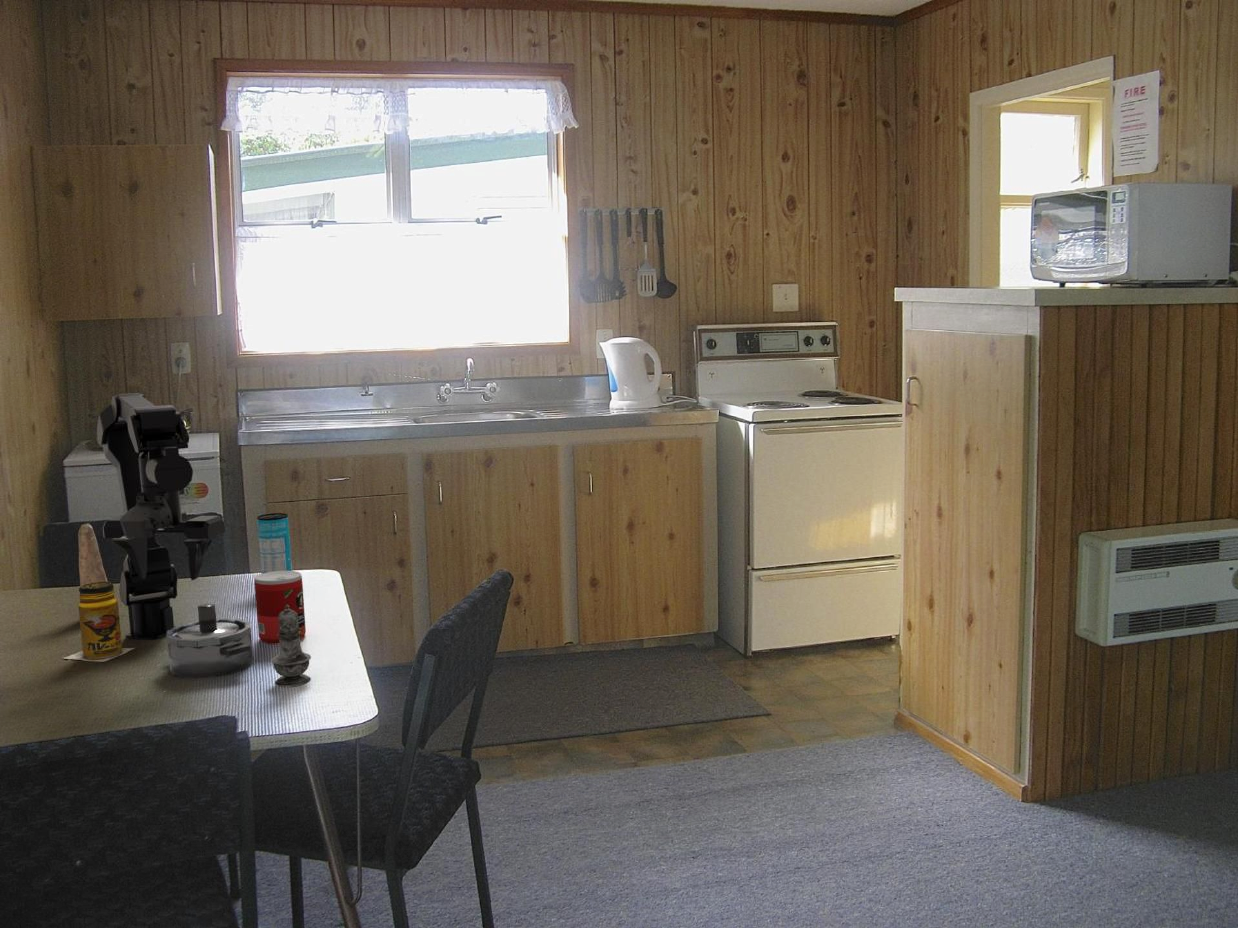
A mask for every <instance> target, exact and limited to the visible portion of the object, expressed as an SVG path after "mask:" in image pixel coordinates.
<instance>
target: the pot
mask: <svg viewBox="0 0 1238 928" xmlns="http://www.w3.org/2000/svg"><path fill="white" fill-rule="evenodd" d="M216 622H217V623H221V622H222V623H233V624H236V625H238V626H239V631H238V632H236V633H232V634H228V635H224V636H220V637H213V638H204V639H181V638H178V633H179V632H180V631H181V630H183V629H185V628H188V627H192V626H196V625H199V620H196V621H192V622H187V623H184V624H178V625H177V627H174V628H172V629H170V630H168V631H167V635H165V637H166V643H167V651H168V653H167V654H168V662H169V663H168V665H169V671H170V672H169V673H170V674H171V675H173V676H174V677H179V678H184V679H185V678H186V679H204V678H214V677H215V678H216V677H220V676H225V675H226V674H227V675H230V674H233V673H237V672H240V671H243V670H245V669H247V668H249V667H251V665H252V664H254V655H253V643H252V640H253V639H252V630H251V629H252V628H251V622H250V621H248V620H244V619H240V618H222V617H220V618H216Z"/></svg>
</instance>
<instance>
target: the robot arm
mask: <svg viewBox="0 0 1238 928" xmlns="http://www.w3.org/2000/svg"><path fill="white" fill-rule="evenodd" d="M96 425H97V426H96V435H97V440H98V441H97V442H98V443H99V445H100V446H102V449H103V454H104V457H105V458H106V459H107V460H108V461H109V462H110V464H112V466H114V467H115V469H116V474H117V479H118V485H119V492H120V496H121V501H122V503H121V504H122V508H123V515H119V516H117V517H113V518H110V519H106V520H105V522H104V524H103V527H102V532H103V533H102V535H103V538H104V539H110V541H111V543H113V544H117V545H118V546H119V547H121V548H123V550H124V551H125V553H126V557H125V559H124V561H123V565H122V567H123V571H121V574H120V575H121V576H120V581H119V586H118V587H119V589H118V591H119V596H120V597H119V598H120V602H121V603H122V604H123V605H124V606H125V607H127V608H128V610H127V611H128V622H129V631H130V632H129V633H127V634H125V635H124V638H125V639H142V640H143V639H144V640H147V639H148V640H149V639H150V640H156V639H157V640H158V639H161V638H162V637H164V636H165V637H166V636H167V631H168V630H170V629H172V628H174V627H177V626H178V625H177V626H175V622H174V621H175V620H174V611H173V607H172V606H171V602H170V601H171V600H170V599H177V597H178V579H179V571H178V570H176V567H175V564H173V563H172V562H171V560H170V559H171V558H170V552H169V550H168V549H167V547H166V546H162V545H161V544H160V543H159V542H158V540H157V537H156V536H157V535H156V533H165V534H166V533H167V534H168V533H172V534H174V533H175V534H176V533H177V534H181V533H182V534H184V536H185V537H186V538H187V539H186V540H183V544H184V545H185V546H186V548H187V552H188V554H187V555H188V565H189V566H188V567H189V575H190V576H189V577H190V580H191V581H195V580H197V578H198V576H199V574H200V570H201V568H202V566H203V562H204V559H205V557H206V555H207V552H208V550H209V548H210V546H211V544H212V543H213V540H216V539H218V538H219V535H222V534H225V533H226V528H225V527H226V526H225V521H224V520H223V519H222V517H221V516H220V515H199V516H197V517H196V516H195V517H194V518H190V519H187V512H182V504H181V496H182V495H184V494H185V488H186V487H188V486H189V485H190V483H191V482H192V479H193V474H194V469H193V467H192V465H191V463H190V462H189V459H187V458H185V457H184V456H182V455H180V450H181V449H182V450H183V449H189V442H190V436H189V432H188V430H187V426H186V424H185V421H184V418H183V417H182V416H181V413H180V412H179V411H177V409H176V408H175V406H173V405H172V404H171V405H167V404H165V405H155V404H154V403H152V402H151V401H149V400H148V399H147V398H146V396H145V394H144V393H142V394H141V393H140V392H135V393H134V392H133V393H119V394H116V395H113V396H112V399H111V403H110V404H109V405H108V406H107V407H106V408H105V409H104V410H103V411H101V412H100V413H99V415H98V420H97V424H96ZM183 520H185V521H183ZM171 563H172V564H171Z"/></svg>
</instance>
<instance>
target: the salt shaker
mask: <svg viewBox="0 0 1238 928" xmlns="http://www.w3.org/2000/svg"><path fill="white" fill-rule="evenodd" d="M289 607H290V606H289V605H288V604H287V605H286V607H285V608H286V609H285V610H284V611H282V612H281V613H280V614H279V615H278V622H279V633H278V634H277V637H279V642H280V644H279V653H278V655H276V656H274V657H273V658H272V659H271V660H270V662H271V663H272V665H273V669H274V671H275V672H276V673H277V674H278V675H279V676H280V677H279V678H278V679H276V680H275V681H274V685H275V684H276V685H275V686H277V685H278V686H277V687H281V688H282V687H284V688H292V687H293V688H294V687H298V686H303V685H306V684H308V683H309V682H311V677H310V676H309V675H306V674H304V673H305V672H306V671H307V670H308V668H309V666H310V660H311V658H312V656H311V654H309V653H306V652H303V649H302V646H301V640H300V635H301V634H302V632H300V631H299V625H298V614H297V613H296V612H295V611H293V610H291V609H289Z"/></svg>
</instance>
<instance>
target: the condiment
mask: <svg viewBox="0 0 1238 928" xmlns="http://www.w3.org/2000/svg"><path fill="white" fill-rule="evenodd" d="M114 587H115V585H114V584H113V583H112V582H110V581H108V582H94V583H88V584H85V585H82V586H81V587H79V589H78V592H79V603H78V604H77V605H78V616H79V617H78V618H79V626H80V637H81V638H80V639H81V645H82V646H81V647H82V648H81V649H82V650H81V651H78V652H76V653H74V654H73V653H72V654H70V655H68V656H65V657H62V659H67V660H75V661H76V660H79V661H87V662H107V661H110V660H112V659H115V658H117V657H120V656H122V655H124V654H126V653H128V652H129V651H132V650H134V649H136V648H135V647H123V644H122V643H123V642H122V631H121V623H120V622H121V621H120V615H119V614H120V611H119V610H120V609H119V602H118V599H117V598H116V596H115V594H116V593H115V590H114V589H115V588H114Z"/></svg>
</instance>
